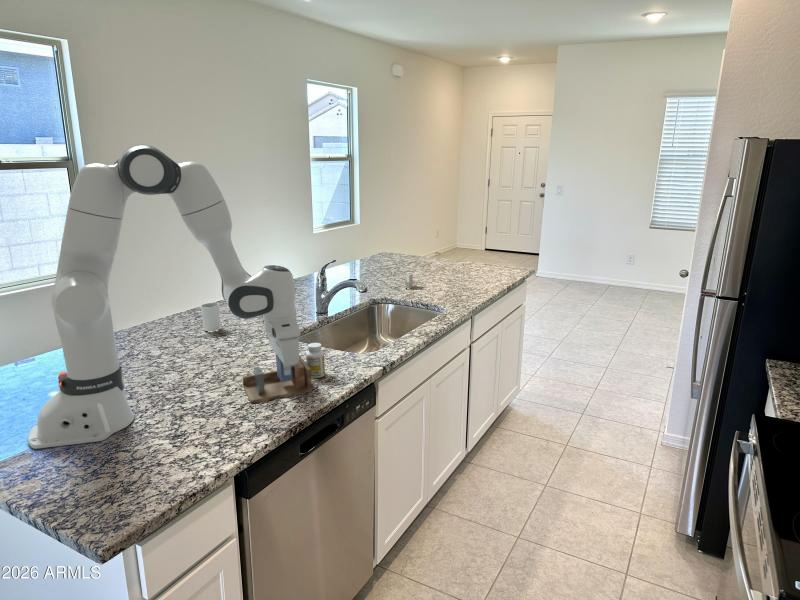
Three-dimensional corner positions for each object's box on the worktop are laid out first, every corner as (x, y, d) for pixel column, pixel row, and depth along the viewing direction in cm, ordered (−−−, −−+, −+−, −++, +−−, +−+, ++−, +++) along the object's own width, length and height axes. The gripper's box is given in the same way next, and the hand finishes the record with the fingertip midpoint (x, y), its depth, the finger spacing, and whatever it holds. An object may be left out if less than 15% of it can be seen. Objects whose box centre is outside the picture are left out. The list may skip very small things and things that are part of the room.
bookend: (259, 395, 148) (257, 374, 146) (255, 387, 152) (253, 367, 151) (264, 393, 148) (263, 373, 147) (260, 386, 153) (259, 366, 151)
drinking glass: (224, 327, 207) (222, 302, 204) (217, 333, 200) (214, 307, 198) (207, 327, 207) (205, 302, 205) (199, 332, 201) (197, 307, 198)
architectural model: (402, 289, 264) (402, 275, 262) (406, 286, 270) (406, 272, 268) (409, 290, 263) (409, 275, 261) (413, 287, 269) (413, 272, 267)
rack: (250, 403, 145) (248, 380, 143) (243, 386, 155) (241, 365, 153) (311, 391, 152) (310, 369, 150) (300, 376, 162) (299, 355, 160)
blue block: (281, 382, 150) (280, 362, 148) (277, 375, 154) (275, 355, 153) (292, 380, 151) (291, 360, 149) (287, 373, 156) (286, 353, 154)
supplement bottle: (316, 370, 167) (315, 340, 164) (328, 374, 163) (327, 344, 161) (303, 375, 163) (301, 345, 160) (315, 380, 159) (313, 349, 157)
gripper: (261, 314, 156) (264, 359, 160) (278, 336, 138) (281, 385, 142) (282, 312, 158) (285, 355, 162) (301, 332, 141) (304, 381, 144)
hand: (284, 369), depth 152 cm, fingers closed on blue block, 5 cm apart
